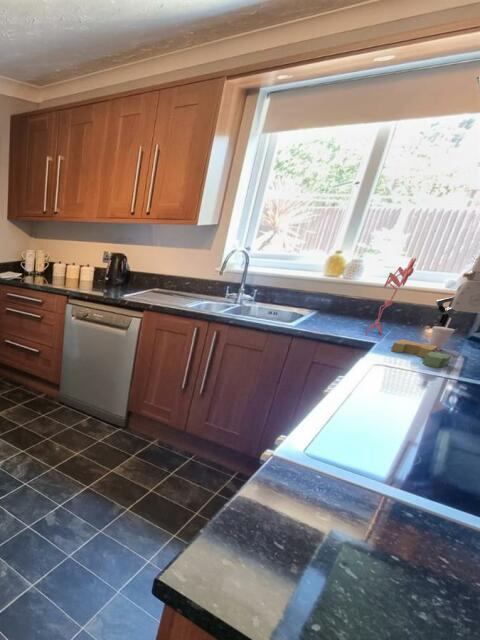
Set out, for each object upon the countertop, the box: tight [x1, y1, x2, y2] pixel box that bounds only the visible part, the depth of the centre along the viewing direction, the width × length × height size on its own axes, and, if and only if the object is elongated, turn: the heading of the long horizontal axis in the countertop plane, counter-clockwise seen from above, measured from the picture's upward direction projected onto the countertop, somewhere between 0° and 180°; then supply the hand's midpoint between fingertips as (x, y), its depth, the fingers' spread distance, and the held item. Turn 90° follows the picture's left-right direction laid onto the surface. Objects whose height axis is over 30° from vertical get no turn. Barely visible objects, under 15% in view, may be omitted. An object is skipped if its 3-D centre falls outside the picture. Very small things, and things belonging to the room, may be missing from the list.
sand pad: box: [390, 338, 438, 359], centre depth 170 cm, size 11×11×4 cm
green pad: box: [421, 351, 453, 369], centre depth 156 cm, size 6×10×4 cm, turn 125°
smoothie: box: [428, 317, 456, 351], centre depth 172 cm, size 6×6×14 cm
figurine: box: [362, 257, 417, 340], centre depth 192 cm, size 15×26×35 cm, turn 136°
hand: (460, 327), depth 149 cm, fingers open, 9 cm apart
